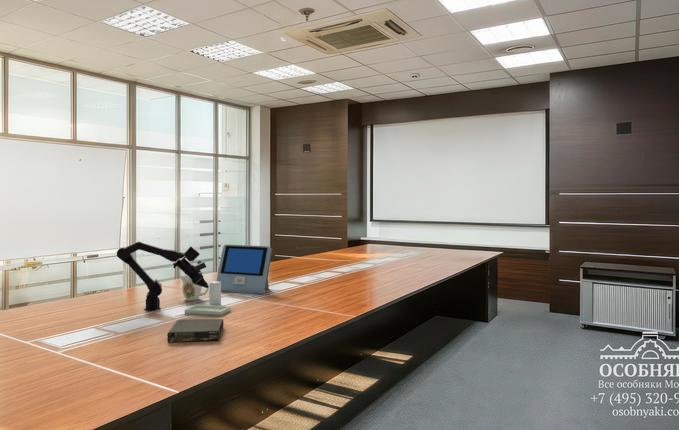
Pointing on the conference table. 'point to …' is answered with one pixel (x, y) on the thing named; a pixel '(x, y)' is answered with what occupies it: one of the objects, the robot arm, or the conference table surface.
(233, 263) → the touchscreen device
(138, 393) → the conference table surface
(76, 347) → the conference table surface
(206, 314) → the tray
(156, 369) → the conference table surface
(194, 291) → the pitcher
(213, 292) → the white rounded capsule
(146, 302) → the robot arm
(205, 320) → the network switch
